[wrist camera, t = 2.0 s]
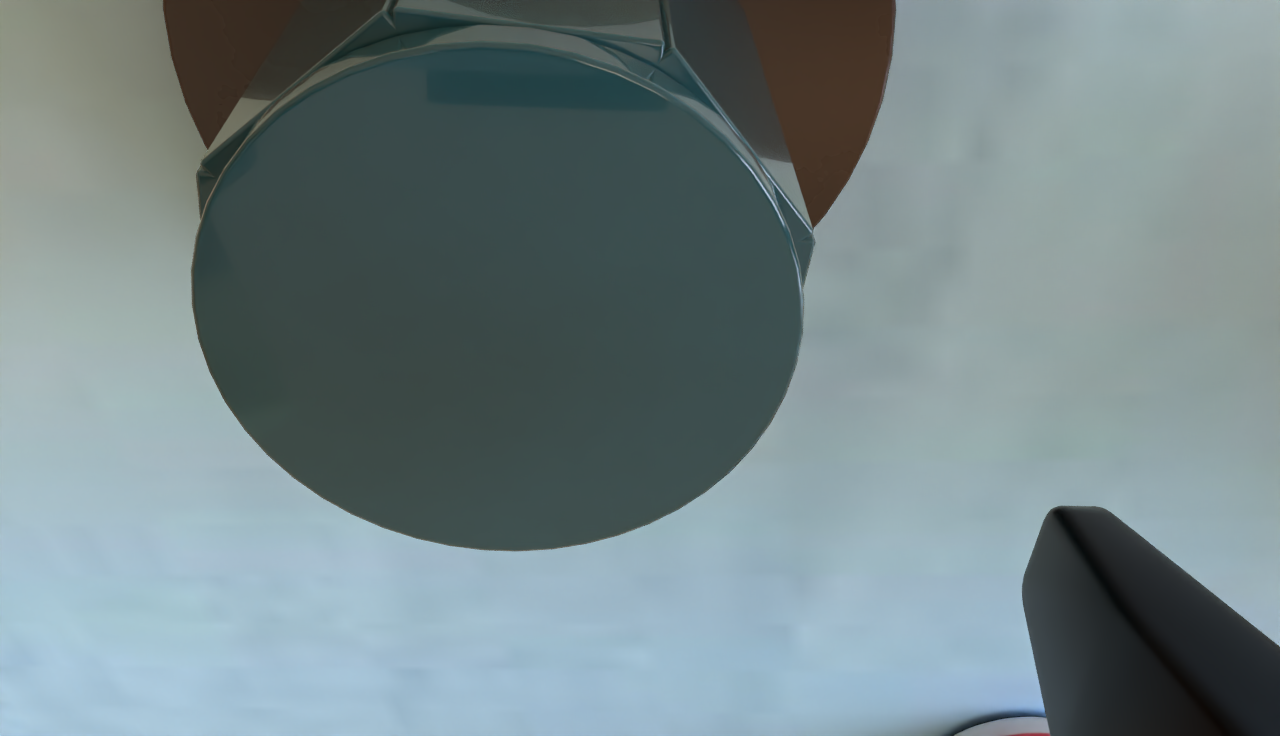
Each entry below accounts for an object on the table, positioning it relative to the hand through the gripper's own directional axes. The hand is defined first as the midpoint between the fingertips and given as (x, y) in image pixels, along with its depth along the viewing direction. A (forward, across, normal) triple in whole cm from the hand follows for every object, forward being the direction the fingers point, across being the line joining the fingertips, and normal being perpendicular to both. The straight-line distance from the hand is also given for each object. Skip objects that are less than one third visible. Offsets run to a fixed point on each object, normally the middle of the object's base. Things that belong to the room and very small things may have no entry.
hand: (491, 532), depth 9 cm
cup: (+10, 0, 0) cm, 10 cm away
